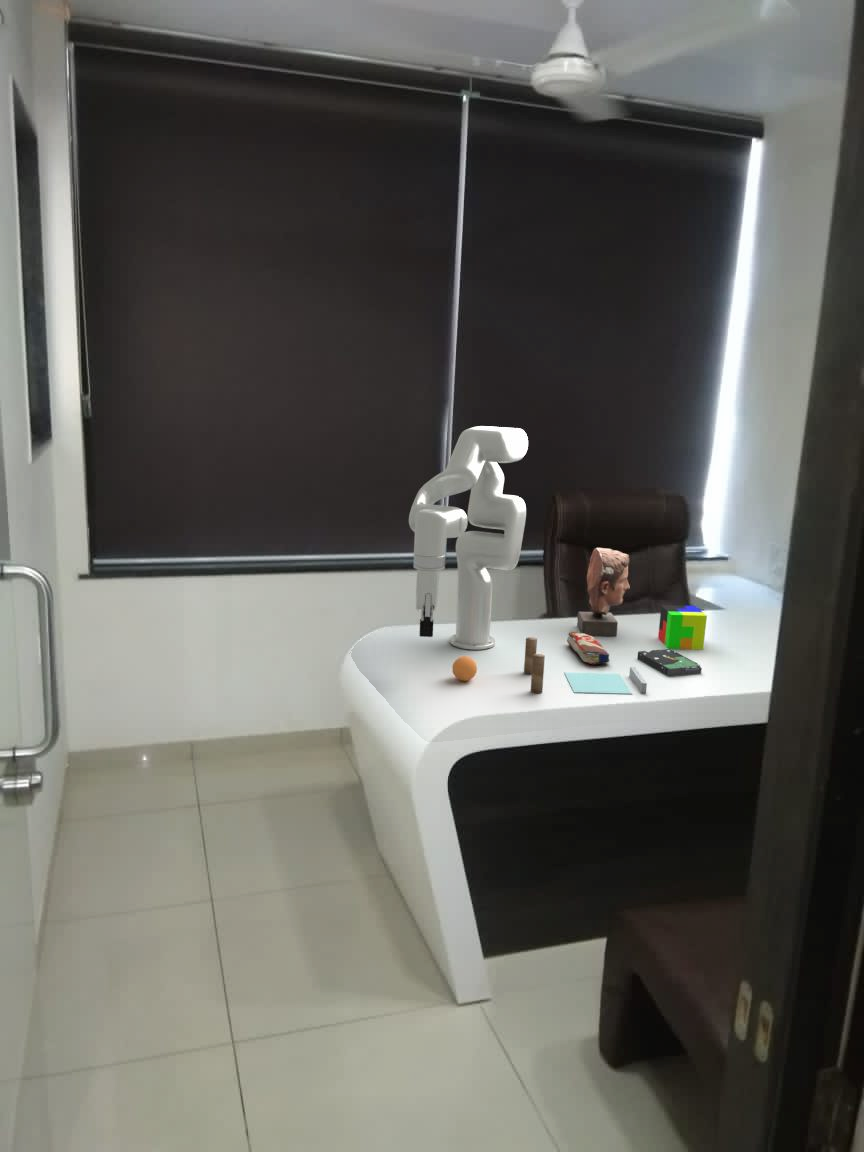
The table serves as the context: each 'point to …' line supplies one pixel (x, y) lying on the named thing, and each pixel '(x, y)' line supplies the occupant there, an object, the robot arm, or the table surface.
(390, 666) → the table surface
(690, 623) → the puzzle toy
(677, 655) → the disk drive
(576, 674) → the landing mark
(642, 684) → the stopper strip
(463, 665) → the ball
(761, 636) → the table surface
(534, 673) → the post
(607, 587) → the bust
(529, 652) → the post
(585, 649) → the pencil case
